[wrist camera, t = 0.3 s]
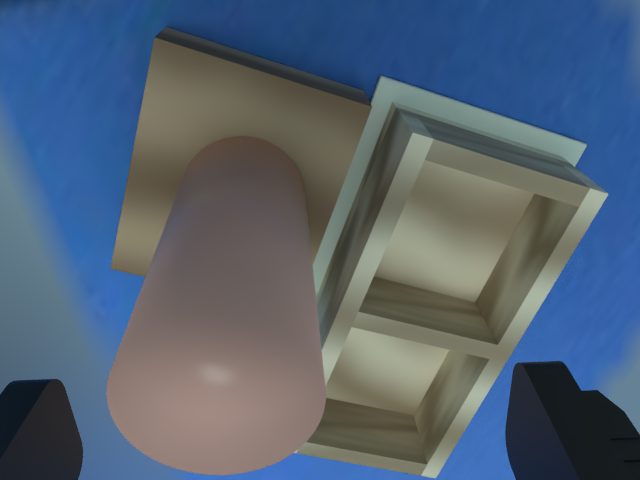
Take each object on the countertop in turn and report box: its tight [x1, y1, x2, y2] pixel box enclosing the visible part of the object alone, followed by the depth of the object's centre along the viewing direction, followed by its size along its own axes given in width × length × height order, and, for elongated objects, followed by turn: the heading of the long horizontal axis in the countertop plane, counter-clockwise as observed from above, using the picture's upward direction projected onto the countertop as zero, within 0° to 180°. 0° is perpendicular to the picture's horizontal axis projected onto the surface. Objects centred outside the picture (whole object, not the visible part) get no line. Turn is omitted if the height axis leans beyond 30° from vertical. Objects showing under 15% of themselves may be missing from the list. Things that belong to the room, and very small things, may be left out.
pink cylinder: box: [107, 136, 326, 475], centre depth 22 cm, size 6×6×14 cm
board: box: [110, 27, 372, 277], centre depth 29 cm, size 12×10×3 cm
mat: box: [313, 75, 587, 296], centre depth 35 cm, size 22×12×1 cm, turn 162°
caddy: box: [294, 102, 608, 478], centre depth 32 cm, size 20×10×5 cm, turn 162°
